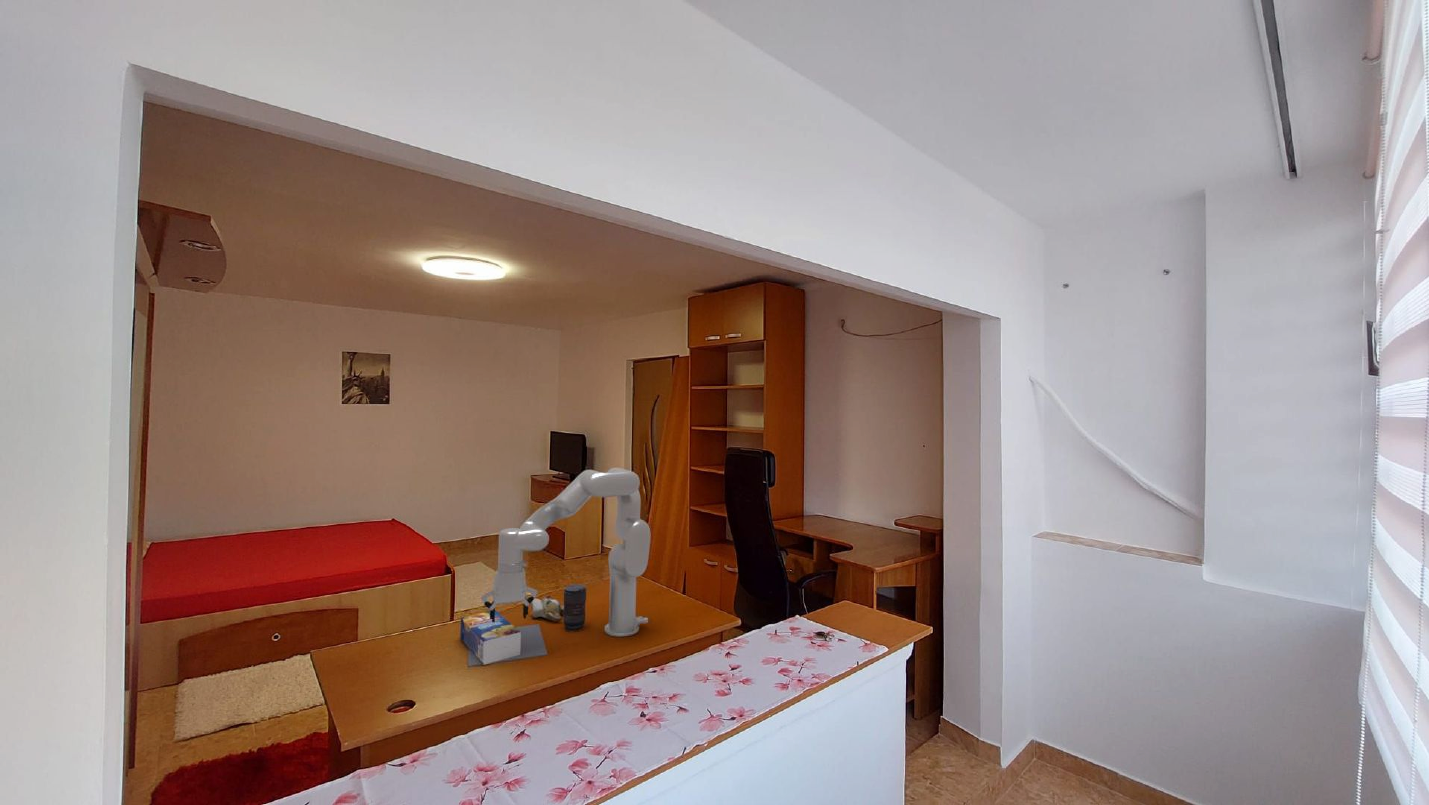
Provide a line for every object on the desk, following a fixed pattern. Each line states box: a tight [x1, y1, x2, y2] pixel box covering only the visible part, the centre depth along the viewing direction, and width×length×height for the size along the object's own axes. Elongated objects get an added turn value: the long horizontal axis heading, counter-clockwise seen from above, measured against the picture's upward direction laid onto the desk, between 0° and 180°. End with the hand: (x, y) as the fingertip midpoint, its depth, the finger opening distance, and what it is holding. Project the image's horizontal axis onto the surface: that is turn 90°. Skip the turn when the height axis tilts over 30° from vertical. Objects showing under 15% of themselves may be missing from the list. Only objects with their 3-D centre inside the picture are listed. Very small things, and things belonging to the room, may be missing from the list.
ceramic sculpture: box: [530, 595, 564, 622], centre depth 218 cm, size 11×9×15 cm
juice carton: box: [459, 609, 521, 666], centre depth 191 cm, size 12×8×24 cm
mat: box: [467, 623, 548, 668], centre depth 194 cm, size 24×26×1 cm
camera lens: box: [562, 584, 587, 632], centre depth 209 cm, size 8×8×15 cm
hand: (509, 619), depth 185 cm, fingers open, 9 cm apart
